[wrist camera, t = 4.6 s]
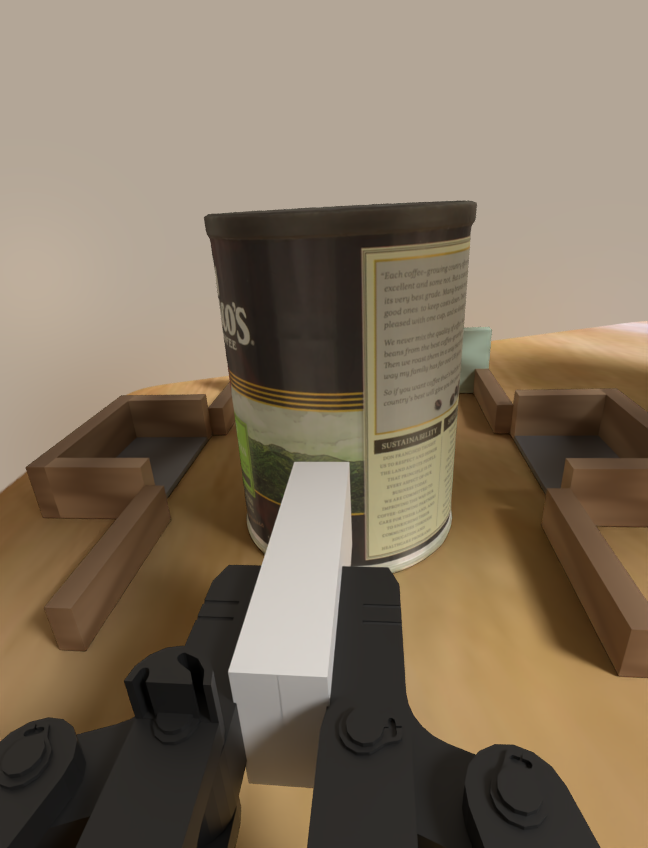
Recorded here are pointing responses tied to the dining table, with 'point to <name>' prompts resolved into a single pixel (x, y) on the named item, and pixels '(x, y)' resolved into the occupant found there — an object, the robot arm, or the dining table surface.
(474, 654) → the dining table surface
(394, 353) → the coffee can
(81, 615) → the wooden tray
